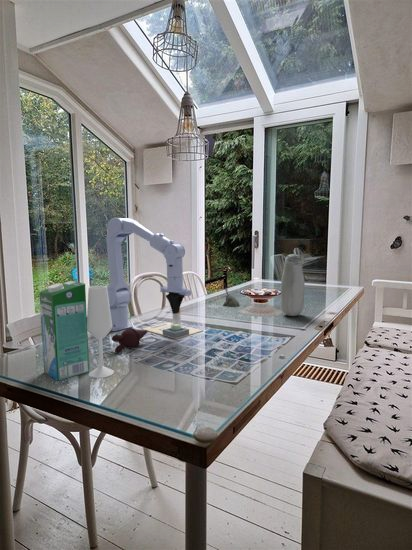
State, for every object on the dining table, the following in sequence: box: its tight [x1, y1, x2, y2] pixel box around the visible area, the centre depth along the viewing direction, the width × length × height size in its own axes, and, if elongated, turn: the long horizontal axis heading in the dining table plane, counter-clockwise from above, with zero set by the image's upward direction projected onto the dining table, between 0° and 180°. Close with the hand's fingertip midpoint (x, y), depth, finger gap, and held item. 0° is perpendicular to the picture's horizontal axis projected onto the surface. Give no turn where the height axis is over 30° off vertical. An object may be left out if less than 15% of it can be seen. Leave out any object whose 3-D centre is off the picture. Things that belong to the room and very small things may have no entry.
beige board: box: [141, 321, 204, 340], centre depth 148 cm, size 14×20×1 cm
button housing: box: [162, 327, 189, 339], centre depth 141 cm, size 7×7×2 cm
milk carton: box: [38, 280, 90, 382], centre depth 103 cm, size 9×9×25 cm
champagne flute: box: [86, 285, 115, 379], centre depth 103 cm, size 7×7×24 cm
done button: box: [171, 324, 182, 332], centre depth 141 cm, size 4×4×3 cm
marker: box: [171, 308, 182, 325], centre depth 150 cm, size 3×3×8 cm
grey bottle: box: [280, 253, 305, 317], centre depth 170 cm, size 10×10×28 cm
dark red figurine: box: [111, 327, 149, 353], centre depth 127 cm, size 7×7×15 cm
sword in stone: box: [222, 282, 241, 308], centre depth 195 cm, size 10×8×12 cm
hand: (175, 313), depth 140 cm, fingers closed
